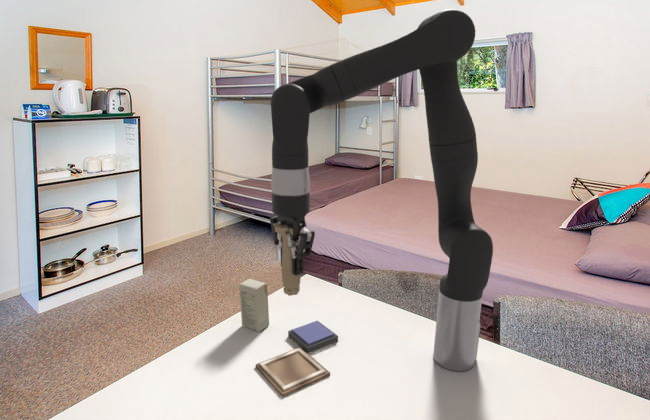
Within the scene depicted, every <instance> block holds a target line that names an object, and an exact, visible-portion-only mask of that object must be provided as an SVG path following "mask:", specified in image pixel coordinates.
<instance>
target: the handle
mask: <svg viewBox="0 0 650 420" xmlns="http://www.w3.org/2000/svg"><path fill="white" fill-rule="evenodd" d="M306 228H307V224H306ZM307 229H308V228H307ZM286 231H287V228H285V225H282V226H281V225H279V224H278V223H276V224H275V232H277V235H278V234H280V235H281V236H282V240H283V245H282V267H281V279H282V285H283V287H282V288H283V293H284V294H285V295H287V296H290V297H291V296H296V295H298V294H299V293H300V291H301V289H300V288H301V287H300V286H301V277H302V274H299V275H294V274H293V273H292V258H293V257H292V251H291V247H289V246H288V240H287V237H288V236H289V234H287V233H286ZM289 231H290V234H291V235H292V236H293V229H292V228H290V229H289ZM299 234H301V232H299ZM298 241H300V239H299V240H294V241H293V242H298ZM296 251H298V246H297V247H296Z"/></svg>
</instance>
